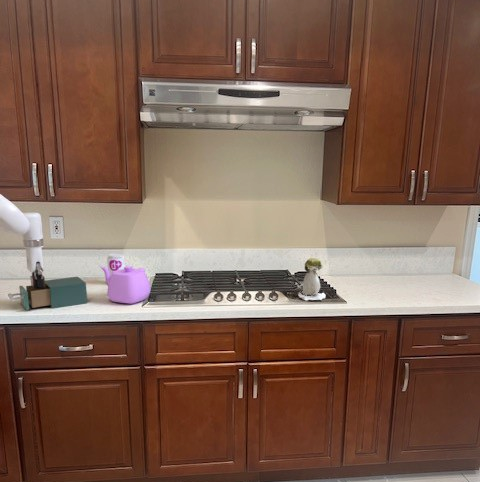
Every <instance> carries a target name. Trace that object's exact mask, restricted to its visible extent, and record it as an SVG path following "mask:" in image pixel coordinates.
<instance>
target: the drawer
mask: <svg viewBox="0 0 480 482" xmlns="http://www.w3.org/2000/svg"><path fill="white" fill-rule="evenodd" d="M18 289H19V292H18V293H11V292H9V293H8V294H7V297H8V298H9V300H10V301H11V302H13V301H15V300H20V303H21V305H22V306H23V307H24V309H25V310H26V311H27V310H28V311H29V310H30V306H31V308H40V307H46V306H49V305H51V298H50V289H49V288H48V287H47V286H46V285H45V288H40V289H33V288H32V287H31V285H25V287H24V286H23V285H19V286H18ZM15 296H18V297H15Z"/></svg>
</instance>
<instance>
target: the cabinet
mask: <svg viewBox="0 0 480 482" xmlns="http://www.w3.org/2000/svg"><path fill="white" fill-rule="evenodd" d="M45 285H46V286H47V287H48V288H49V289H50V298H51V305H48V306H49V307H50V308H51V309H58V308H65V307H72V306H77V305H85V304H88V293H87V292H88V291H87V282H86V281H85V280H83V279H82V278H80V277H78V276H72V277H71V276H70V277H64V278H63V277H62V278H55V279H45Z"/></svg>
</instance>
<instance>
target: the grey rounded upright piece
mask: <svg viewBox="0 0 480 482" xmlns="http://www.w3.org/2000/svg"><path fill="white" fill-rule="evenodd" d="M322 268H323V264H322V261H321V260H320V259H319V258H317V257H310V258H308V259H306V261H305V263H304V270H305V272H306V274H305V275H304V278H303V281H302V290H303V291H302V290H301V291H302V293H303V294H305V295H306V296H305V295H302V294H301V293H300V292H301V291H299V292H298V293H297V294H298V297H299V299H302V300H304V301H306V302H309V301H323V299H326V297H327V294H325V292H322V293H320V289H321V287H322V286H321V285H322V284H321V283H320V278H319V275H318V273H317V272H320V270H321V269H322ZM318 292H319V293H318ZM307 295H311V296H307Z"/></svg>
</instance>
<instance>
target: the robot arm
mask: <svg viewBox="0 0 480 482" xmlns="http://www.w3.org/2000/svg"><path fill="white" fill-rule="evenodd" d="M0 230H1V231H4V232H6V233H9V234H13V235H18V236H19V235H21V236H22V242H23V243H22V244H23V248H24V249H25V256H26V257H25V258H26V269H27V270H28V271H29V272H30V273H31V276H35V279H34V280H35V288H36V289H40V288H44V284H43V276H44V275H43V272H44V271H45V266H44V265H45V263H44V257H43V256H44V255H43V249H42V248H44V247H45V241H44V234H43V222H42V215H41V213H39V212H35V211H34V212H33V211H32V212H31V211H30V212H22V211H21V210H20V208H18V207H17V206H16V205H15V204H14V203H13V202H12V201H10V200H9V199H7V198H6V197H4V195H3V194H1V193H0ZM42 275H43V276H42Z"/></svg>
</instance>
